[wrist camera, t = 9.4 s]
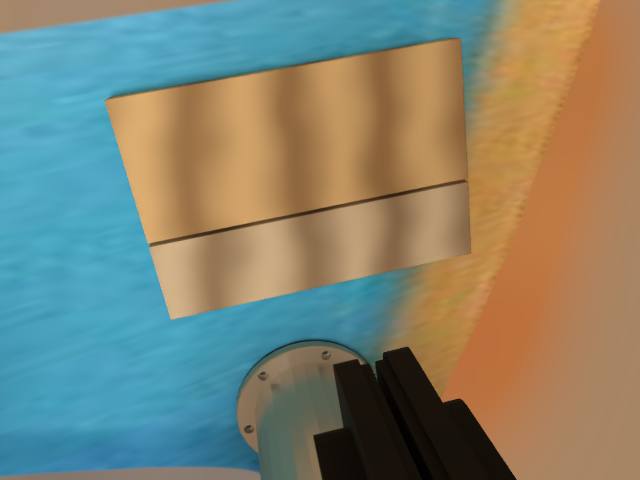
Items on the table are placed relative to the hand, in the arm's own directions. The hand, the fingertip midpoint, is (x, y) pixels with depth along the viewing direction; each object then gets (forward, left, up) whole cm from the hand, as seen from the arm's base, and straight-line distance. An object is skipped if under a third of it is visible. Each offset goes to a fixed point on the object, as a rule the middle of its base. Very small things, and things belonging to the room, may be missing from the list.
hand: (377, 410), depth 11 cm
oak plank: (-1, -2, -29) cm, 29 cm away
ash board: (-8, +3, -29) cm, 30 cm away
